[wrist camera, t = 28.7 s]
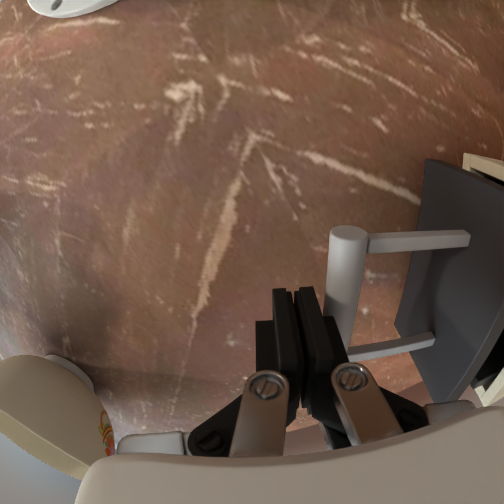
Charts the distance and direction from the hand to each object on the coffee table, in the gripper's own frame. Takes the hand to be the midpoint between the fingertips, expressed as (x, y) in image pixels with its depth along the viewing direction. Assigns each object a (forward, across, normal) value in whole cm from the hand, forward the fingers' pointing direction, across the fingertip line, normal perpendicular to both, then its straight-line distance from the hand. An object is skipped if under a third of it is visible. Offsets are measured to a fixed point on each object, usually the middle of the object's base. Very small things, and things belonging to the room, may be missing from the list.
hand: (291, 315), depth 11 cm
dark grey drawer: (+4, -11, -1) cm, 12 cm away
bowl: (+5, +22, +13) cm, 26 cm away
